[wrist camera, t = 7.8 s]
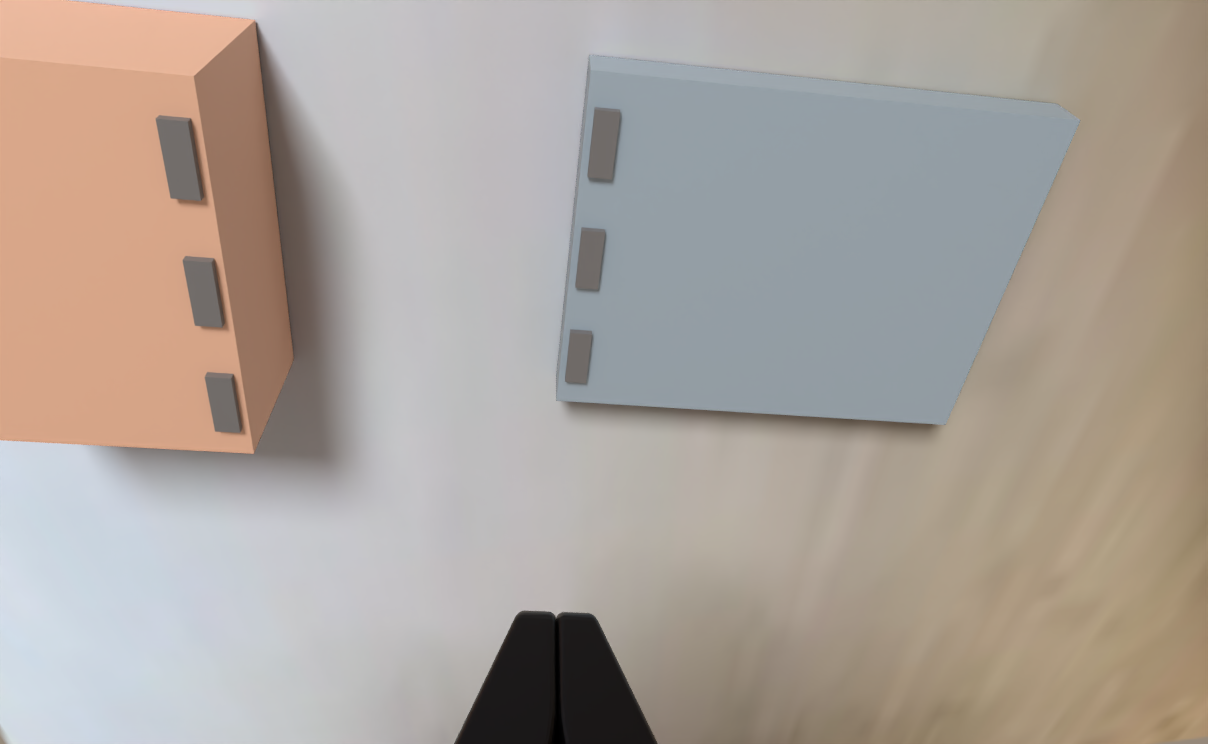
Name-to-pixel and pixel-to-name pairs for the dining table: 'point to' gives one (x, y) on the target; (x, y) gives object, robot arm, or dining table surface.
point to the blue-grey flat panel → (793, 239)
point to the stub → (136, 230)
